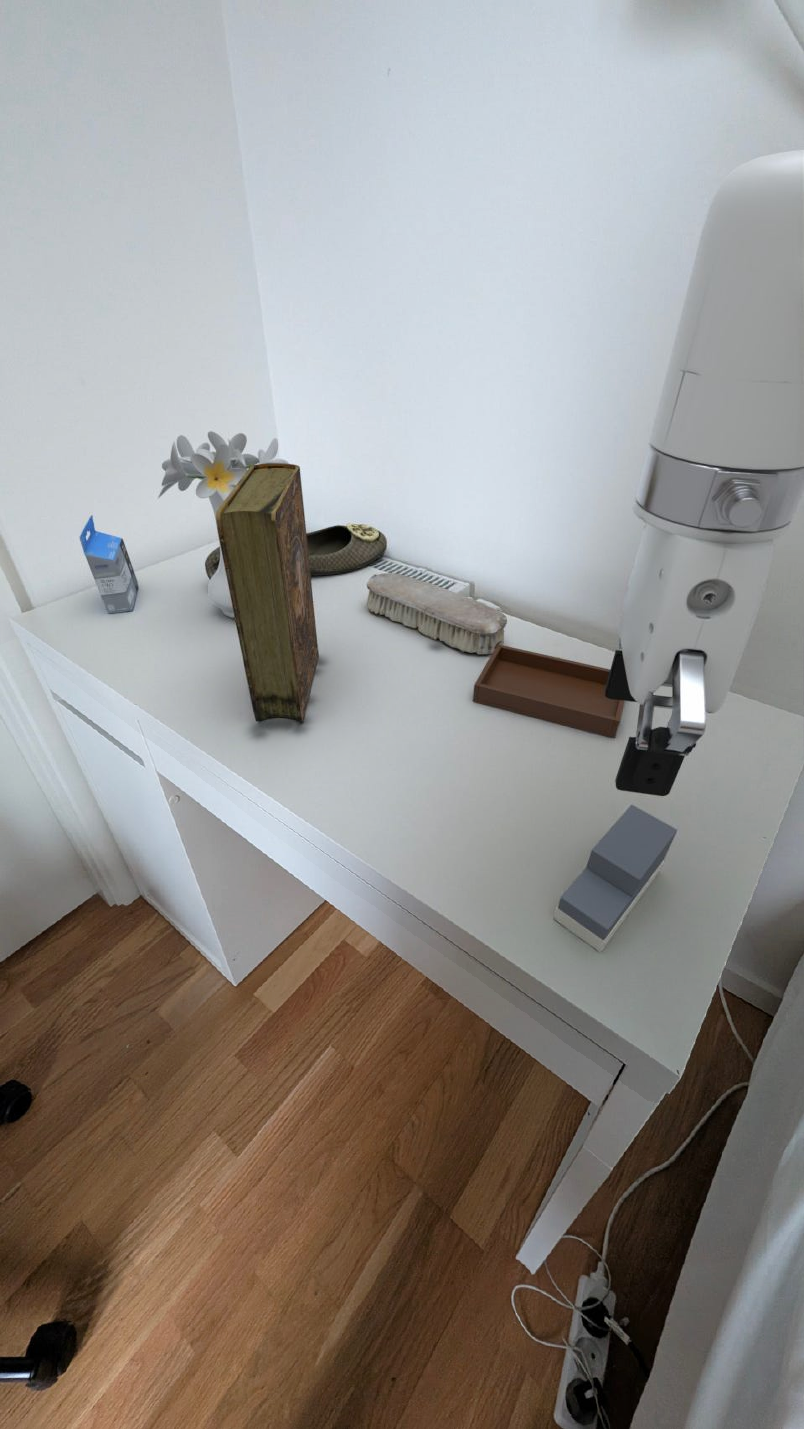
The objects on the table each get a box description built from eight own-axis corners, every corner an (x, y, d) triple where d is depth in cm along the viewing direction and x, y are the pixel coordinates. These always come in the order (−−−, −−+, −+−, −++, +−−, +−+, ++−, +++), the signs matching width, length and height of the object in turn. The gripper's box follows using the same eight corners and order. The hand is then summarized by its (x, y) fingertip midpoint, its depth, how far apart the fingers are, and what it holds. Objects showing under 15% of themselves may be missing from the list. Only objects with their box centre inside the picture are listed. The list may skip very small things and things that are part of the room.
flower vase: (314, 595, 94) (297, 427, 78) (230, 645, 82) (191, 458, 66) (255, 575, 99) (229, 415, 84) (169, 620, 87) (119, 442, 72)
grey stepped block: (615, 843, 55) (630, 803, 51) (660, 870, 52) (678, 830, 49) (552, 918, 49) (564, 879, 45) (600, 952, 46) (616, 913, 43)
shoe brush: (354, 610, 90) (353, 580, 87) (385, 593, 95) (385, 564, 91) (485, 664, 78) (489, 632, 75) (513, 642, 83) (518, 611, 80)
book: (280, 651, 81) (252, 462, 65) (319, 651, 81) (301, 463, 65) (256, 726, 68) (213, 514, 52) (302, 727, 68) (274, 515, 52)
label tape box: (133, 611, 89) (108, 534, 82) (105, 614, 89) (77, 536, 81) (139, 586, 96) (117, 512, 88) (113, 589, 95) (88, 514, 88)
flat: (399, 563, 103) (399, 521, 99) (216, 601, 92) (206, 556, 87) (374, 541, 111) (373, 502, 106) (202, 574, 100) (192, 531, 95)
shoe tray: (625, 690, 74) (631, 673, 72) (614, 738, 67) (620, 721, 65) (495, 660, 79) (497, 644, 78) (472, 701, 72) (474, 684, 70)
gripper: (868, 564, 22) (716, 846, 33) (750, 448, 36) (669, 676, 46) (664, 548, 23) (581, 826, 34) (624, 441, 37) (573, 666, 47)
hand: (632, 740), depth 40 cm, fingers open, 9 cm apart
